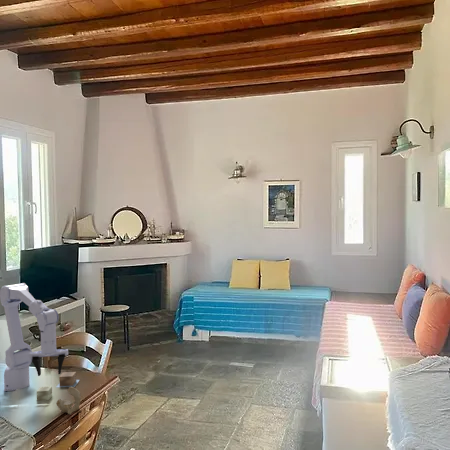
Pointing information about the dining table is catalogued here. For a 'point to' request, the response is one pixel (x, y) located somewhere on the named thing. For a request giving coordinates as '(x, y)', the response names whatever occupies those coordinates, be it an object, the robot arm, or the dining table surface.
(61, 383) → the walnut base
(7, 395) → the dining table surface
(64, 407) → the beige lumpy piece
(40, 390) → the sage block
